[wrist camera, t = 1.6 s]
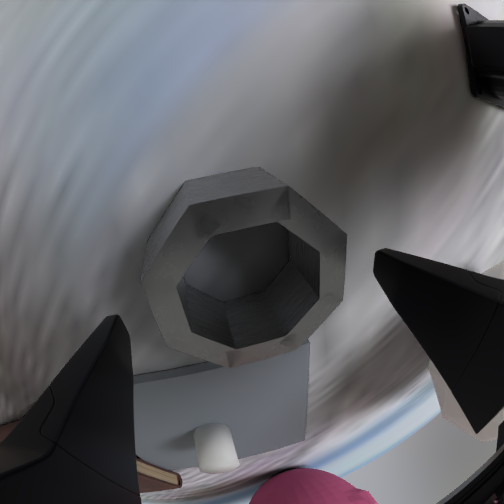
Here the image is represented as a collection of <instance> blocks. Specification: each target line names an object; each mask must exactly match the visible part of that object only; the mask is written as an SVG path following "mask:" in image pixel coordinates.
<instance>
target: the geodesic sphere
mask: <svg viewBox="0 0 504 504" xmlns="http://www.w3.org/2000/svg"><path fill="white" fill-rule="evenodd" d="M482 274H483V275H487V276H490V277H494V278H498V279H503V280H504V261H503V262H501V263H499V264H498V265H496V266H494V267H492V268H491V269H489V270H487V271H485V272H484V273H482ZM428 368H429V371H430V375H431V378H432V381H433V384H434V388H435V391H436V394H437V398H438V401H439V405H440V409H441V412H442V416H443V418H445V419H447V420H448V421H450V422H451V423H453V424H454V425H456V426H458V427H459V428H461V429H462V430H464V431H465V432H467V433H468V434H470V435H472V436H473V437H475V438H476V439H478V440H480V441H481V442H486V441H490V440H495V439H498V426H499V425H500V424H501V423H502V422H503V420H504V408H503V409H502V410H501V411H500V412H499V413H498V414H497V415H496V416H495V417H494V418H493V419H492V420H491V421H490V422H489V423H488V424H487V425H486V426H485V427H484V428H483V429H482V430H481V431H480V432H479V433H478V434H476V433H475V432H474V430H473V428H472V427H471V425H470V423H469V421H468V420H467V418H466V416H465V414H464V413H463V411H462V409H461V407H460V406H459V404H458V402H457V401H456V399H455V397H454V396H453V394H452V392H451V390H450V389H449V387H448V386H447V384H446V383H445V381H444V379H443V378H442V376H441V375H440V373H439V372H438V370H437V369H436V367H435V366H434V364H433V362H432V361H431V359H430V361H429V364H428Z"/></svg>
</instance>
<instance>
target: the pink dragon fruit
mask: <svg viewBox="0 0 504 504" xmlns="http://www.w3.org/2000/svg"><path fill="white" fill-rule="evenodd" d="M249 504H377V502H376V501H375V500H374V498H373V497H372V496H371V494H370V493H369V492H368V491H365V490H361V489H357V488H355V487H354V486H352V485H351V484H350V483H348V482H346V481H345V480H343V479H342V478H340V477H338V476H336V475H334V474H331V473H329V472H325V471H322V470H317V469H309V468H300V469H293V470H289V471H285V472H282V473H280V474H277V475H275V476H273V477H272V478H270V479H269V480H267V481H266V482H265V483H264V484H263V485H262V486H261V487H260V488H259V489H258V490H257V492H256V493H255V494H254V496H253V497H252V499H251V501H250V503H249Z"/></svg>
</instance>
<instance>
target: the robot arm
mask: <svg viewBox="0 0 504 504" xmlns="http://www.w3.org/2000/svg"><path fill="white" fill-rule="evenodd" d="M458 10H459V14H460V19H461V23H462V28H463V33H464V38H465V43H466V50H467V56H468V64H469V72H470V82H471V92H472V95H473V96H474V97H475V98H477V99H480V100H483V101H486V102H489V103H492V104H495V105H498V106H501V107H504V20H488V19H487V18H485V17H484V16H482V15H481V14H479V13H478V12H477V11H475V10H474V9H472V8H471V7H469V6H467V5H466V4H459V5H458ZM373 273H374V276H375V278H376V279H377V281H378V283H379V284H380V286H381V287H382V289H383V291H384V292H385V294H386V296H387V297H388V299H389V301H390V302H391V304H392V305H393V307H394V308H395V310H396V311H397V313H398V314H399V315H400V317H401V318H402V319H403V321H404V322H405V324H406V325H407V326H408V328H409V329H410V330H411V332H412V333H413V335H414V336H415V338H416V339H417V340H418V342H419V343H420V345H421V346H422V348H423V349H424V351H425V352H426V354H427V355H428V356H429V358H430V359H431V361H432V362H433V364H434V366H435V367H436V369H437V370H438V372H439V373H440V375H441V376H442V378H443V379H444V381H445V383H446V384H447V386H448V387H449V389H450V390H451V392H452V394H453V396H454V397H455V399H456V401H457V402H458V404H459V406H460V407H461V409H462V411H463V413H464V414H465V416H466V418H467V420H468V421H469V423H470V425H471V427H472V428H473V430H474V432H475V433H476V434H478V433H479V432H480V431H481V430H482V429H483V428H484V427H485V426H486V425H487V424H488V423H489V422H490V421H491V420H492V419H493V418H494V417H495V416H496V415H497V414H498V413H499V412H500V411H501V410H502V409H503V408H504V280H503V279H498V278H494V277H490V276H487V275H483V274H479V273H476V272H472V271H469V270H468V271H467V270H465V269H462V268H458V267H455V266H451V265H448V264H444V263H440V262H437V261H433V260H429V259H426V258H422V257H418V256H414V255H411V254H407V253H403V252H399V251H395V250H391V249H387V248H384V249H381V250H378V251H376V253H375V259H374V268H373ZM0 504H141V497H140V490H139V482H138V473H137V462H136V449H135V432H134V381H133V368H132V356H131V343H130V336H129V333H128V331H127V329H126V327H125V325H124V323H123V321H122V319H121V317H120V316H119V315H117V314H116V315H111V316H107V317H106V318H105V319H104V320H103V321H102V323H101V324H100V325H99V326H98V327H97V328H96V329H95V331H94V332H93V333H92V334H91V335H90V336H89V338H88V339H87V340H86V341H85V342H84V343H83V345H82V346H81V347H80V348H79V349H78V351H77V352H76V353H75V354H74V355H73V357H72V358H71V359H70V360H69V361H68V363H67V364H66V365H65V366H64V367H63V369H62V370H61V371H60V372H59V374H58V375H57V376H56V377H55V379H54V380H53V381H52V382H51V384H50V386H48V388H47V389H46V390H45V391H44V393H43V394H42V395H41V397H40V398H39V399H38V400H37V402H36V403H35V404H34V405H33V406H32V408H31V409H30V410H29V411H28V412H27V413H26V415H25V416H24V417H23V418H22V419H21V420H20V421H19V423H18V424H17V425H16V426H15V427H14V428H13V430H12V431H11V432H10V433H9V434H8V436H7V437H6V438H5V439H4V440H3V441H2V442H0ZM437 504H504V420H503V422H502V423H501V424H500V425H499V426H498V439H497V449H496V453H495V454H494V455H493V456H492V457H491V458H490V459H489V460H488V461H487V462H486V463H485V464H484V465H483V466H482V467H480V468H479V469H478V470H477V471H476V472H475V473H474V474H473V475H472V476H470V477H469V478H468V479H467V480H466V481H465V482H464V483H462V484H461V485H460V486H459V487H458V488H456V489H455V490H454V491H453V492H451V493H450V494H449V495H447V496H446V497H445V498H443V499H442V500H441V501H439V502H438V503H437Z"/></svg>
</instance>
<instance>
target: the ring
mask: <svg viewBox="0 0 504 504" xmlns="http://www.w3.org/2000/svg"><path fill="white" fill-rule="evenodd" d="M273 222H278V223H280V224H281V225H283V226H284V227H285V228H287V229H288V237H289V252H290V260H289V262H288V263H287V264H286V265H285V267H284V268H283V269H282V270H281V271H280V273H279V274H278V275H277V276H276V278H275V279H274V280H273V281H272V282H271V284H270V285H269V286H268V287H267V289H266V290H265V291H264V292H261V293H258V294H254V295H250V296H246V297H242V298H237V299H233V300H229V301H225V302H222V301H219V300H217V299H215V298H213V297H211V296H209V295H207V294H205V293H203V292H201V291H199V290H196V289H194V288H192V287H190V286H188V285H186V282H185V279H184V274H185V273H186V271H187V270H188V268H189V267H190V265H191V264H192V263H193V261H194V260H195V258H196V257H197V255H198V254H199V253H200V251H201V250H202V248H203V247H204V245H205V244H206V243H207V241H208V240H209V238H210V237H211V236H213V235H218V234H222V233H227V232H231V231H236V230H240V229H245V228H250V227H254V226H259V225H264V224H268V223H273ZM346 245H347V234H346V233H345V232H343V231H342V230H341V229H340V228H339V227H338V226H337V225H335V224H334V223H333V222H332V221H331V220H329V219H328V218H327V217H326V216H325V215H324V214H322V213H321V212H320V211H319V210H318V209H316V208H315V207H314V206H313V205H311V204H310V203H309V202H308V201H307V200H305V199H304V198H303V197H302V196H300V195H299V194H298V193H297V192H295V191H294V190H293V189H292V188H290V187H289V186H288V185H286V184H285V183H283V182H282V181H280V180H279V179H277V178H276V177H274V176H272V175H271V174H269V173H268V172H266V171H265V170H263V169H261V168H260V167H256V168H250V169H244V170H238V171H233V172H228V173H222V174H217V175H212V176H207V177H202V178H197V179H193V180H188V181H185V183H184V184H183V186H182V187H181V189H180V190H179V192H178V193H177V195H176V196H175V198H174V199H173V201H172V202H171V204H170V206H169V207H168V209H167V210H166V212H165V213H164V215H163V217H162V218H161V220H160V221H159V223H158V225H157V226H156V228H155V229H154V231H153V233H152V234H151V236H150V238H149V239H148V242H147V247H146V252H145V258H144V263H143V269H142V275H141V281H140V283H141V285H142V288H143V291H144V293H145V296H146V298H147V301H148V303H149V306H150V308H151V311H152V313H153V315H154V318H155V320H156V323H157V325H158V327H159V329H160V332H161V334H162V336H163V339H164V341H165V343H166V345H167V347H170V348H172V349H175V350H178V351H180V352H183V353H186V354H189V355H191V356H194V357H197V358H200V359H203V360H206V361H209V362H212V363H215V364H218V365H221V366H224V367H227V368H234V367H238V366H242V365H246V364H249V363H253V362H257V361H261V360H264V359H268V358H271V357H275V356H278V355H282V354H285V353H288V352H292V351H295V350H297V349H298V348H299V347H300V346H301V345H302V344H303V343H304V342H305V341H306V340H307V339H308V338H309V337H310V336H311V335H312V334H313V332H314V331H315V330H316V329H317V328H318V327H319V326H320V325H321V324H322V323H323V322H324V321H325V320H326V319H327V317H328V316H329V315H330V314H331V313H332V312H333V311H334V310H335V309H336V307H337V306H338V305H339V304H340V303H341V302H342V301H343V294H344V281H345V265H346Z"/></svg>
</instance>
